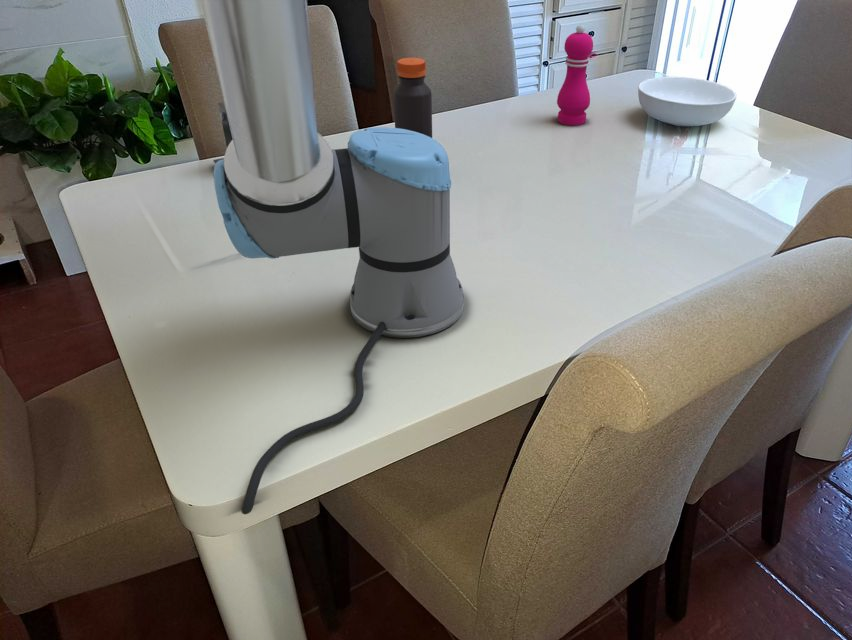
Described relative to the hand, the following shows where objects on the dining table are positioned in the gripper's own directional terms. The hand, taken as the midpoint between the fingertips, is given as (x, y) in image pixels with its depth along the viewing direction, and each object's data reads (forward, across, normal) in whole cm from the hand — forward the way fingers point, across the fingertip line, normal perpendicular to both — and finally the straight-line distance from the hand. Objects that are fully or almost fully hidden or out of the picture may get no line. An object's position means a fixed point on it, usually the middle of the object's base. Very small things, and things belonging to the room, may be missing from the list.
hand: (259, 10), depth 95 cm
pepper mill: (+33, -72, -18) cm, 81 cm away
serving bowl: (+33, -94, -5) cm, 100 cm away
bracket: (+32, -1, -26) cm, 41 cm away
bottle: (+33, -28, -10) cm, 44 cm away
